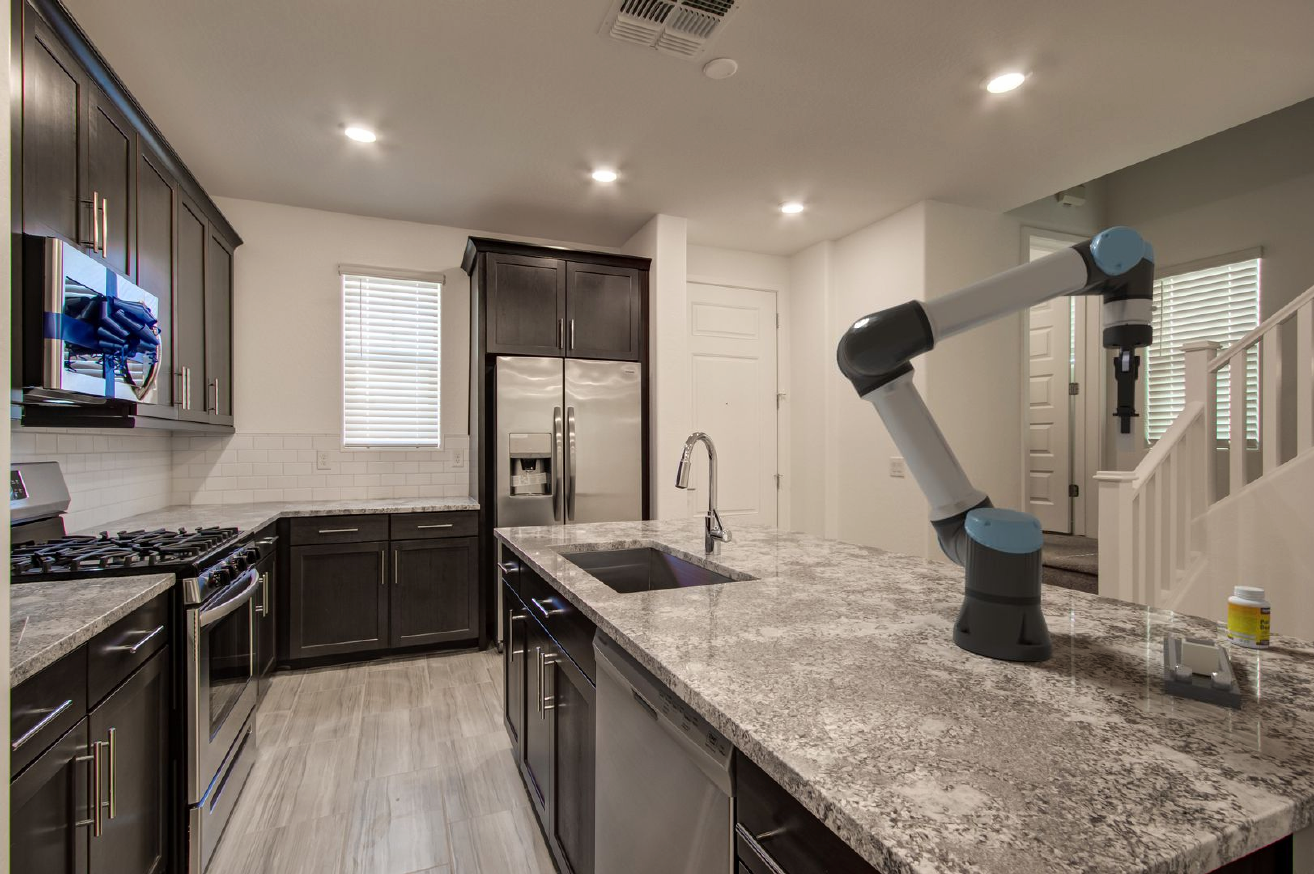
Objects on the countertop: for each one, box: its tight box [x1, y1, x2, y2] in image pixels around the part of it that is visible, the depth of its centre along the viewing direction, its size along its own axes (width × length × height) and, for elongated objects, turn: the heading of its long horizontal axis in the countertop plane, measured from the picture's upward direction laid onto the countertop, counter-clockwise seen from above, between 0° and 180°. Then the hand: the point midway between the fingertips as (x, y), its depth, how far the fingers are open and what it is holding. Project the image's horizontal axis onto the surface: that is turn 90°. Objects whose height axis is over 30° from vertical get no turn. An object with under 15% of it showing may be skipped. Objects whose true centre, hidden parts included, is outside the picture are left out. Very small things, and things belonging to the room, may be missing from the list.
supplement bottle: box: [1227, 585, 1271, 650], centre depth 113 cm, size 6×6×10 cm
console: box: [1162, 636, 1242, 710], centre depth 97 cm, size 8×26×4 cm, turn 141°
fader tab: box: [1181, 636, 1219, 676], centre depth 92 cm, size 4×3×5 cm
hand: (1125, 451), depth 117 cm, fingers closed
